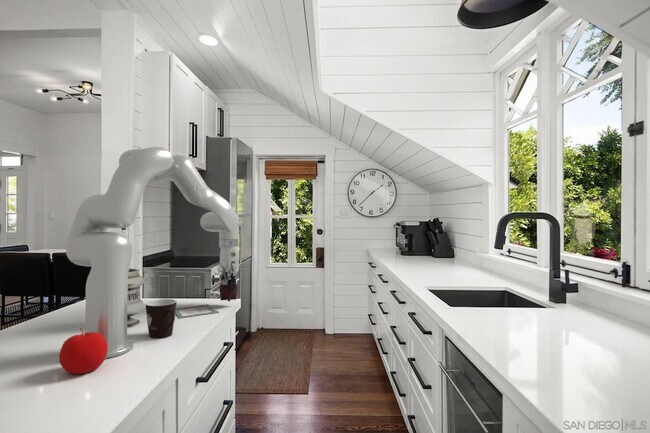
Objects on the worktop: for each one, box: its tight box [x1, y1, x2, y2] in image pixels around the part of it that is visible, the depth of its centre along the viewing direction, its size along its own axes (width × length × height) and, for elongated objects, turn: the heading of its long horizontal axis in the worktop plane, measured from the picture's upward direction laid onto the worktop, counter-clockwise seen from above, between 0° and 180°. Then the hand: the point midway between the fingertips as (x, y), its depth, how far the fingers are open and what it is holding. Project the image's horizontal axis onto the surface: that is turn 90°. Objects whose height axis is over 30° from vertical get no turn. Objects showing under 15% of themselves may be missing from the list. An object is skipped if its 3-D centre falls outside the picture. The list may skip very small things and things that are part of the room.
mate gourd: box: [219, 263, 239, 302], centre depth 141 cm, size 8×8×15 cm
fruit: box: [58, 326, 108, 375], centre depth 82 cm, size 9×9×10 cm
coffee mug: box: [144, 298, 178, 340], centre depth 105 cm, size 12×9×10 cm
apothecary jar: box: [127, 267, 145, 328], centre depth 117 cm, size 12×12×18 cm
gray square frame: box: [175, 303, 220, 319], centre depth 134 cm, size 14×14×1 cm
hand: (228, 287), depth 141 cm, fingers closed on mate gourd, 7 cm apart
